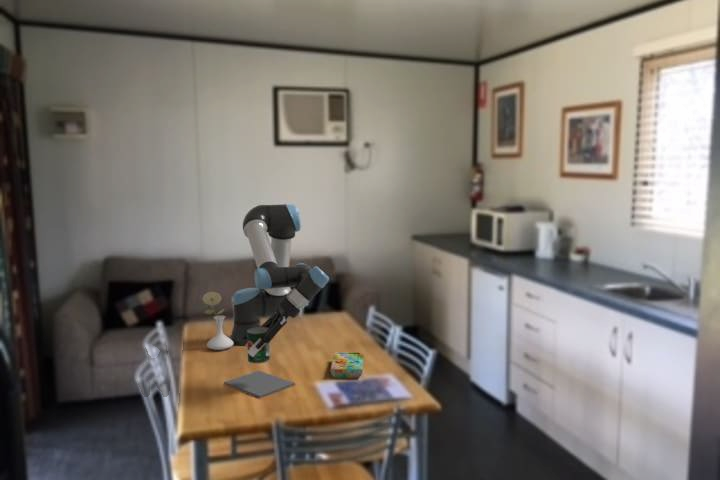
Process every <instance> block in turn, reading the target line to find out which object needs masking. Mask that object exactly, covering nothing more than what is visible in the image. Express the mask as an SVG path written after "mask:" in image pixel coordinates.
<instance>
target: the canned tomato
mask: <svg viewBox="0 0 720 480" xmlns="http://www.w3.org/2000/svg"><path fill="white" fill-rule="evenodd" d="M267 330H268V328H266V327H255V328H250V329H248V330H247V341H248V342H247V343H248V347H247V351H248V350H249V349H250V348H251V347H252V346H253V345H254V344H255V343H256V342H257V340H258V339H259V337H260V336H261V337H262V336H263V335H264V334H265V332H266V331H267ZM270 342H271V341H270ZM270 342H269V343H266V344H265V345H264V346H263V347H262V348H261V349H260V350H259V351H258V352H257V353H256V354H255V355H254V357H252V356H251V355H250V354H248V353H247V361H248V363H250V364H264V363H267V362H270V360H271V346H270V345H271V343H270Z"/></svg>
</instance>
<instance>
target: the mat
mask: <svg viewBox="0 0 720 480" xmlns="http://www.w3.org/2000/svg"><path fill="white" fill-rule="evenodd" d="M223 384H226V385H225V386H227V385H228V387H230V386H231V387H230V388H232V387H234V388H233V389H235V388H236V389H235V390H237V389H239V390H238V391H240V390H241V391H240V392H243V393H245V392H246V394H248V395H250V394H251V395H250V396H254V397H257V398H259V399H261V398H264V397H267V396H269V395H273V394H275V393H277V392H280V391H283V390H285V389H288V388H290V387H293V386H295V385H296V383H295V381H294V382H293V381H291V380H288V379H285V378H282V377H280V376H279V377H278V376H276V375H273V374H270V373H268V372H264V371H261V370H257V371H254V372H250V373H248V374H245V375H242V376H238V377H235V378H232V379H229V380H227V381H224V382H223Z"/></svg>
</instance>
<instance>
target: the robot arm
mask: <svg viewBox="0 0 720 480" xmlns="http://www.w3.org/2000/svg"><path fill="white" fill-rule="evenodd" d="M301 222H302V221H301V215H300V212H299V209H298V207H297V206H296V205H294V204H286V203H284V204H258V205H256V206H254V207H253V208H251V209H250V210H249V211H248V212H247V213H246V215H245V216H244V219H243V222H242V231H243V234H244V236H245V237H246V238H247V239H248V242H249V245H250V248H251V251H252V252H251V253H252V255H253V259H254V261H255V265H256V267H257V268H256V269H255V270H254V278H253V279H254V285H255V287H247V288H243V289H239V290H237V291H235V293H233V296H232V297H233V298H232V305H233V306H232V308H233V326H232V329H231V334H230V337H229V338H230V339H231V340H232V341H233V343H234V344H233V345H236V346H237V345H238V346H246V347H247V348H248V343H247V342H248V341H247V330H248V329H250V328H255V327H266V328H268V330H267V331H266V332H265V334H264V335H263V336H262V337H261V336H260V337H259V339H258V340H257V342H256V343H255V344H254V345H253V346H252V347H251V348H250V349H249V350H248V349H247V351H246V352H247V355H248V354H250V355H251V356H252V357H254V355H255V354H256V353H257V352H258V351H259V350H260V349H261V348H262V347H263V346H264V345H265V344H266V343H269V342H271V341H272V340H273V339H274V338H275V336H276V335H277V334H278V333H279V332H280V330H281V329H282V328H283V327H284V326H285V325H286V324H287V323H288V321H287V319H288V318H289V316H290V318H291V319H295V318H296V317H297V316H298V315H299V314H300V313H301V310H303V309H304V308H305V307H308V306H309V303H310V302H311V301H312V300H313V299H314V297H315V296H316V295H317V294H318V293H319V292H320V291H322V289H323V288H324V287H325V286H326V284H328V282H329V281H330V277H329V276H328V275H327V274H326V273H325V272H324V271H323V270H322V269H320V267H318V266H316V265H315V266H313V267H311V266H310V265H308V264H305V263H303V262H300V263H297V264H295V265H294V266H290V260H291V259H290V258H291V248H292V247H291V246H292V240H293V239H294V238H295V237H296V232H299V231H301V228H302V227H301V226H302V225H301ZM269 237H270V238H271V240H270V239H269ZM260 290H261V291H260ZM262 317H269V318H267V320H266V321H265V322H264V323H263V324H262V325H261V318H262Z"/></svg>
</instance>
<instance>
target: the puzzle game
mask: <svg viewBox="0 0 720 480" xmlns="http://www.w3.org/2000/svg"><path fill="white" fill-rule="evenodd" d="M364 357H365V355H364V352H348V351H347V352H346V351H345V352H334V354H333V358H332V362H331V366H330V374H331V375H332V377H333V378H353V379H355V378H360V377H361V376H362V375H363V371H364V369H363V368H364Z"/></svg>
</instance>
